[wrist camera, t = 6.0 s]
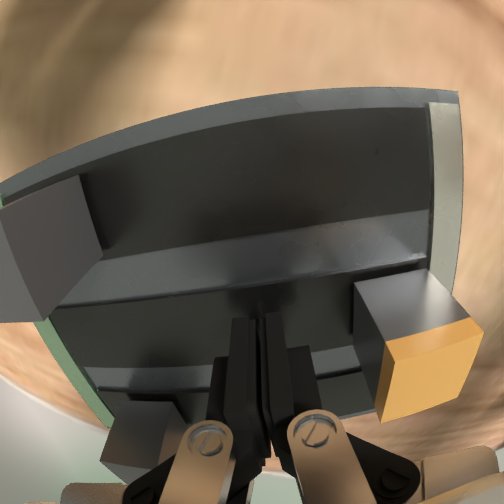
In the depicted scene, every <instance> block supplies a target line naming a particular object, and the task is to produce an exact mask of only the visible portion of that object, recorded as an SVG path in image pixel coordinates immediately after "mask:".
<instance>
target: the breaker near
mask: <svg viewBox="0 0 504 504" xmlns="http://www.w3.org/2000/svg"><path fill="white" fill-rule="evenodd" d="M103 256H104V255H103V252H102V249H101V246H100V244H99V241H98V238H97V235H96V232H95V229H94V226H93V223H92V219H91V216H90V213H89V210H88V206H87V203H86V200H85V196H84V193H83V189H82V185H81V182H80V178H79V175H76V176H74V177H71V178H68V179H66V180H63V181H60V182H58V183H55V184H53V185H50V186H48V187H45V188H43V189H40V190H38V191H36V192H33V193H31V194H29V195H26V196H24V197H22V198H20V199H18V200H16V201H14V202H11V203H9V204H7V205H5V206H3V207H1V208H0V323H11V322H42V321H45V319H46V318H47V317H48V316H49V315H50V313H51V312H52V311H53V310H54V309H55V308H56V306H57V305H58V304H59V303H60V302H61V301H62V300H63V298H64V297H65V296H66V295H67V294H68V293H69V292H70V291H71V290H72V288H73V287H74V286H75V285H76V284H77V283H78V282H79V281H80V280H81V279H82V278H83V276H84V275H85V274H86V273H87V272H88V271H89V270H90V269H91V268H92V267H93V266H94V265H95V264H96V263H97V262H98V261H99V260H100V259H101V258H102V257H103Z"/></svg>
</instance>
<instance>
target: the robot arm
mask: <svg viewBox="0 0 504 504" xmlns="http://www.w3.org/2000/svg"><path fill="white" fill-rule="evenodd" d="M265 317H266V318H260V338H259V334H258V329H257V325H256V320H255V319H253V320H250V319H249V316H244V317H236V318H232V325H231V335H230V345H229V356H223V357H215V359H214V362H213V369H212V376H211V383H210V390H209V397H208V404H207V411H206V419H205V421H201V422H198V423H196V424H194V425H192V426H191V427H190V428H189V429H188V430H187V431H186V432H185V434H184V435H183V437H182V440H181V443H180V445H179V448H178V451H177V453H176V454H174V455H173V456H171V457H170V458H168V459H167V460H166V461H164V462H163V463H161V464H160V465H158V466H157V467H155V468H153V469H152V470H150V471H149V472H147V473H146V474H144V475H143V476H141V477H139V478H138V479H136V480H135V481H133V482H132V483H131V484H129V485H123V484H122V483H70V484H69V485H67V486H66V487H65V488H64V489H63V491H62V494H61V501H60V504H250V501H251V496H252V490H253V485H254V478H255V477H256V476H257V475H259V474H260V473H261V472H262V466H265V458H271V442H272V445H273V449H274V452H275V455H276V457H279V459H280V463H281V466H282V470H284V471H285V472H287V473H288V474H290V475H291V476H293V477H294V478H295V479H296V482H297V486H298V489H299V493H300V496H301V500H302V503H303V504H504V471H503V472H499V466H498V460H497V456H496V454H495V452H494V451H493V450H492V449H491V448H490V447H487V446H476V447H472V448H468V449H464V450H460V451H455V452H450V453H445V454H440V455H435V456H429V457H423V459H422V460H416V461H410V460H408V459H406V458H403V457H401V456H398V455H396V454H394V453H391V452H389V451H386V450H384V449H382V448H379V447H377V446H375V445H373V444H371V443H368V442H366V441H364V440H362V439H360V438H357V437H355V436H353V435H351V434H349V433H347V432H345V429H344V427H343V425H342V423H341V421H340V420H339V418H338V417H337V416H336V415H334V414H333V413H331V412H328V411H325V410H323V409H322V404H321V399H320V394H319V389H318V385H317V380H316V375H315V370H314V366H313V361H312V356H311V352H310V347H309V345H306V346H300V347H293V348H287V346H286V340H285V333H284V326H283V320H282V313H281V311H279V312H272V313H266V314H265ZM24 504H59V503H53V502H43V501H37V502H28V503H24Z"/></svg>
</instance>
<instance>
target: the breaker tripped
mask: <svg viewBox="0 0 504 504" xmlns="http://www.w3.org/2000/svg"><path fill="white" fill-rule="evenodd" d="M483 334H484V332H483V331H482V329H481V328H480V327H479V326H478V325H477V323H476V322H475V321H474V320H473V319H472V317H471V316H470V315H469V314H468V313H467V312H466V311H465V309H464V308H463V307H462V306H461V305H460V304H459V303H458V301H457V300H456V299H455V298H454V297H453V296H452V295H451V294H450V293H449V292H448V291H447V289H446V288H445V287H444V286H443V285H442V284H441V283H440V282H439V281H438V280H437V279H436V278H435V277H434V276H433V275H432V274H431V273H430V272H429V271H428V270H427V269H426V268H425V269H420V270H415V271H411V272H406V273H401V274H396V275H391V276H386V277H381V278H375V279H370V280H365V281H359V282H354V321H353V347H354V350H355V353H356V355H357V358H358V361H359V363H360V366H361V369H362V372H363V374H364V377H365V380H366V383H367V386H368V389H369V391H370V394H371V397H372V400H373V403H374V406H375V409H376V412H377V415H378V418H379V421H380V423H384V422H388V421H391V420H394V419H398V418H401V417H404V416H408V415H411V414H414V413H417V412H420V411H423V410H425V409H428V408H431V407H434V406H436V405H439V404H442V403H444V402H447V401H449V400H452V399H454V398H457V397H458V395H459V393H460V391H461V389H462V387H463V384H464V382H465V380H466V378H467V375H468V373H469V371H470V368H471V366H472V364H473V361H474V359H475V356H476V354H477V351H478V348H479V346H480V343H481V340H482V337H483Z"/></svg>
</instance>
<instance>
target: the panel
mask: <svg viewBox="0 0 504 504" xmlns="http://www.w3.org/2000/svg"><path fill="white" fill-rule="evenodd" d="M76 175H79V178H80V182H81V185H82V189H83V193H84V196H85V200H86V203H87V206H88V210H89V213H90V216H91V219H92V223H93V226H94V229H95V232H96V235H97V238H98V241H99V244H100V246H101V249H102V252H103V255H104V256H103V257H102V258H101V259H100V260H99V261H98V262H97V263H96V264H95V265H94V266H93V267H92V268H91V269H90V270H89V271H88V272H87V273H86V274H85V275H84V276H83V278H82V279H81V280H80V281H79V282H78V283H77V284H76V285H75V286H74V287H73V288H72V290H71V291H70V292H69V293H68V294H67V295H66V296H65V297H64V298H63V300H62V301H61V302H60V303H59V304H58V305H57V306H56V308H55V309H54V310H53V311H52V312H51V313H50V315H49V316H48V317H47V318H46V319H45V321H42V322H33V323H34V325H35V326H36V328H37V330H38V332H39V333H40V335H41V337H42V339H43V340H44V342H45V344H46V345H47V347H48V349H49V350H50V352H51V353H52V355H53V356H54V358H55V360H56V361H57V363H58V364H59V366H60V367H61V369H62V370H63V372H64V373H65V375H66V376H67V377H68V379H69V380H70V382H71V383H72V384H73V386H74V387H75V389H76V390H77V391H78V393H79V394H80V395H81V397H82V398H83V399H84V401H85V402H86V403H87V404H88V406H89V407H90V408H91V409H92V411H93V412H94V413H95V414H96V416H97V417H98V418H99V419H100V420H101V421H102V423H103V424H104V425H105V426H107V428H111V427H112V424H113V421H114V419H115V416H116V413H117V411H118V408H119V406H120V403H121V400H128V401H153V402H173V404H174V405H175V407H176V409H177V410H178V412H179V414H180V415H181V417H182V418H183V420H184V422H185V423H186V425H187V426H188V428H190V427H191V426H192V425H194V424H196V423H198V422H201V421H205V419H206V411H207V404H208V397H209V390H210V383H211V376H212V369H213V362H214V359H215V357H223V356H229V345H230V335H231V325H232V318H236V317H244V316H249V319H250V320H253V319H255V320H256V325H257V329H258V334H259V338H260V318H266V317H265V314H266V313H272V312H279V311H281V313H282V320H283V326H284V333H285V340H286V346H287V348H293V347H300V346H306V345H309V347H310V352H311V356H312V361H313V366H314V370H315V375H316V380H317V385H318V389H319V394H320V399H321V404H322V409H323V410H325V411H328V412H331V413H333V414H334V415H336V416H337V417H338V418H339V420H341V419H346V418H351V417H355V416H360V415H364V414H368V413H372V412H376V409H375V406H374V403H373V400H372V397H371V394H370V391H369V389H368V386H367V383H366V380H365V377H364V374H363V372H362V369H361V366H360V363H359V361H358V358H357V355H356V353H355V350H354V347H353V321H354V282H359V281H365V280H370V279H375V278H381V277H386V276H391V275H396V274H401V273H406V272H411V271H415V270H420V269H425V268H426V269H427V270H428V271H429V272H430V273H431V274H432V275H433V276H434V277H435V278H436V279H437V280H438V281H439V282H440V283H441V284H442V285H443V286H444V287H445V288H446V289H447V291H448V292H449V293H450V294H451V295H452V290H453V285H454V279H455V273H456V266H457V259H458V252H459V243H460V234H461V223H462V208H463V140H462V125H461V114H460V105H459V97H458V91H449V90H439V89H426V88H407V87H351V88H331V89H317V90H306V91H296V92H287V93H279V94H272V95H265V96H258V97H252V98H246V99H240V100H234V101H229V102H224V103H219V104H214V105H210V106H205V107H201V108H196V109H192V110H188V111H184V112H180V113H176V114H172V115H168V116H165V117H161V118H158V119H154V120H151V121H147V122H144V123H141V124H138V125H134V126H131V127H128V128H125V129H122V130H119V131H116V132H113V133H111V134H108V135H105V136H102V137H100V138H97V139H94V140H92V141H89V142H86V143H84V144H81V145H79V146H76V147H74V148H72V149H69V150H67V151H65V152H62V153H60V154H58V155H55V156H53V157H51V158H49V159H47V160H44V161H42V162H40V163H38V164H36V165H34V166H32V167H30V168H28V169H26V170H24V171H22V172H20V173H18V174H16V175H14V176H12V177H11V178H9V179H7V180H5V181H3V182H1V183H0V208H1V207H3V206H5V205H7V204H9V203H11V202H14V201H16V200H18V199H20V198H22V197H24V196H26V195H29V194H31V193H33V192H36V191H38V190H40V189H43V188H45V187H48V186H50V185H53V184H55V183H58V182H60V181H63V180H66V179H68V178H71V177H74V176H76Z"/></svg>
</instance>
